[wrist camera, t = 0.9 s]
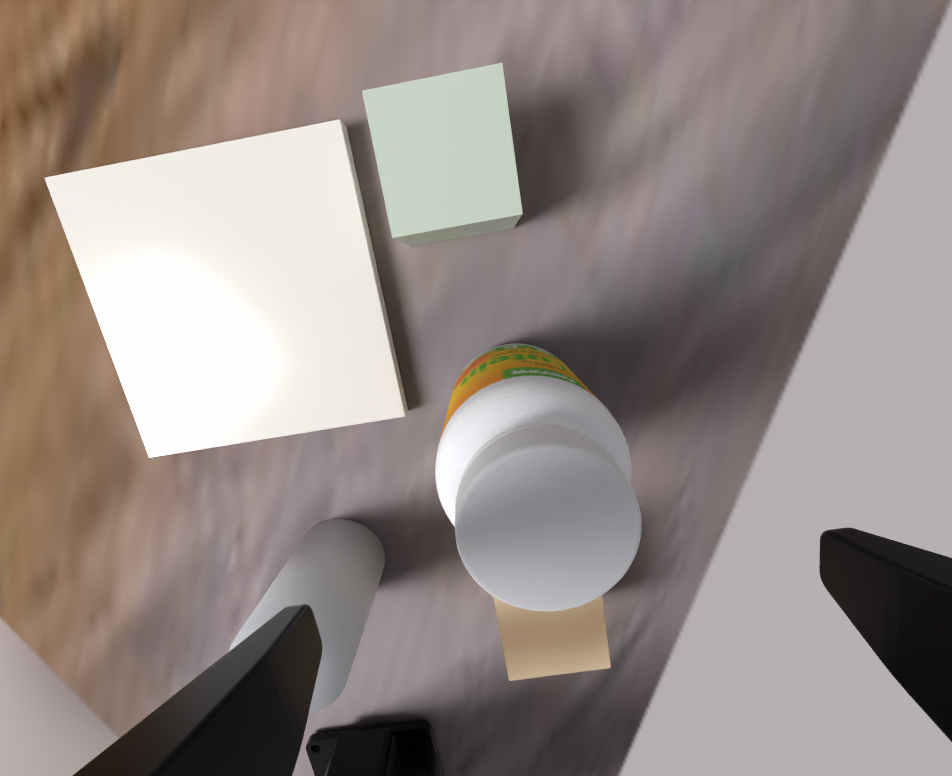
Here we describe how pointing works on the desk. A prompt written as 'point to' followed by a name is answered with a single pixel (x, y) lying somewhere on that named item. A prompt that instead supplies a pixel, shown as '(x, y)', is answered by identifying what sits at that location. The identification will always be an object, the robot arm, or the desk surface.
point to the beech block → (553, 640)
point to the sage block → (445, 155)
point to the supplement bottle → (536, 481)
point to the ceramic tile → (236, 288)
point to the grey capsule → (328, 596)
